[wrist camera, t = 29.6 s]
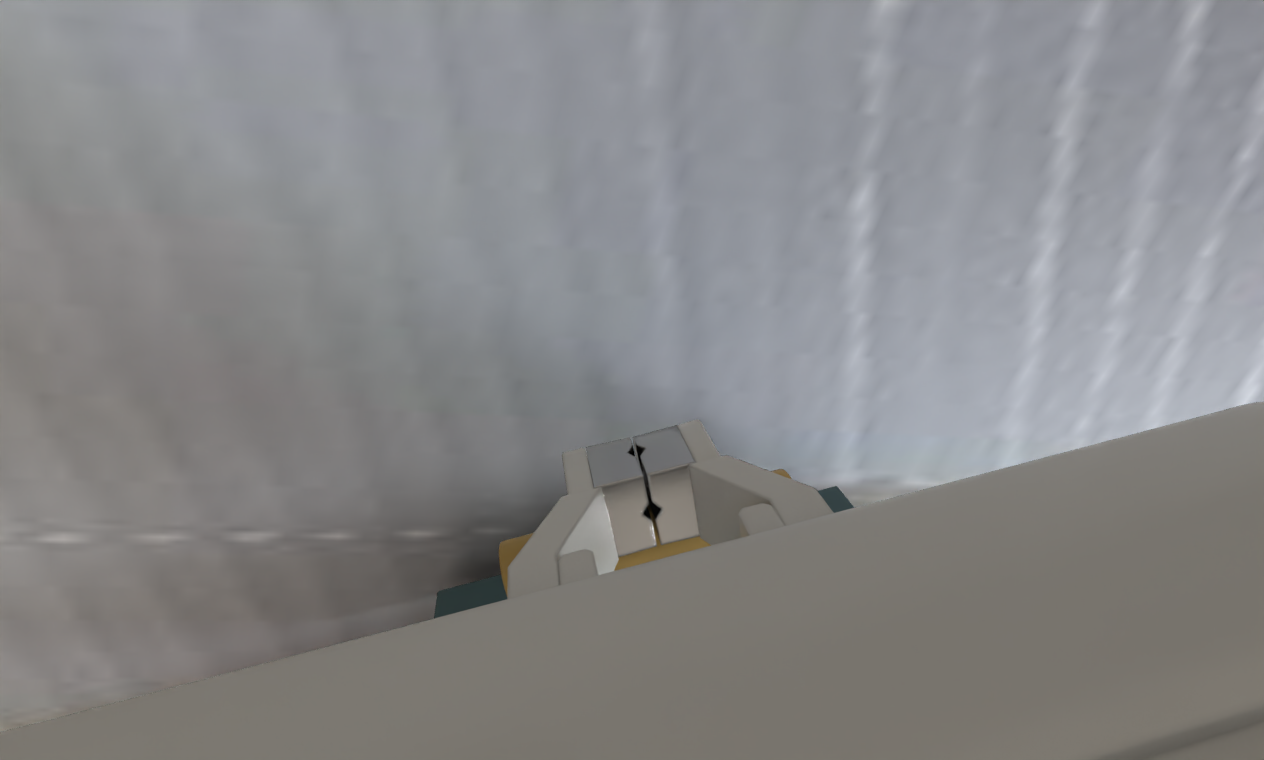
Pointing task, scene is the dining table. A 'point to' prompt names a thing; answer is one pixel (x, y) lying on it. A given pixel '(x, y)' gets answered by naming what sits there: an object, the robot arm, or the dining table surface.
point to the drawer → (508, 550)
